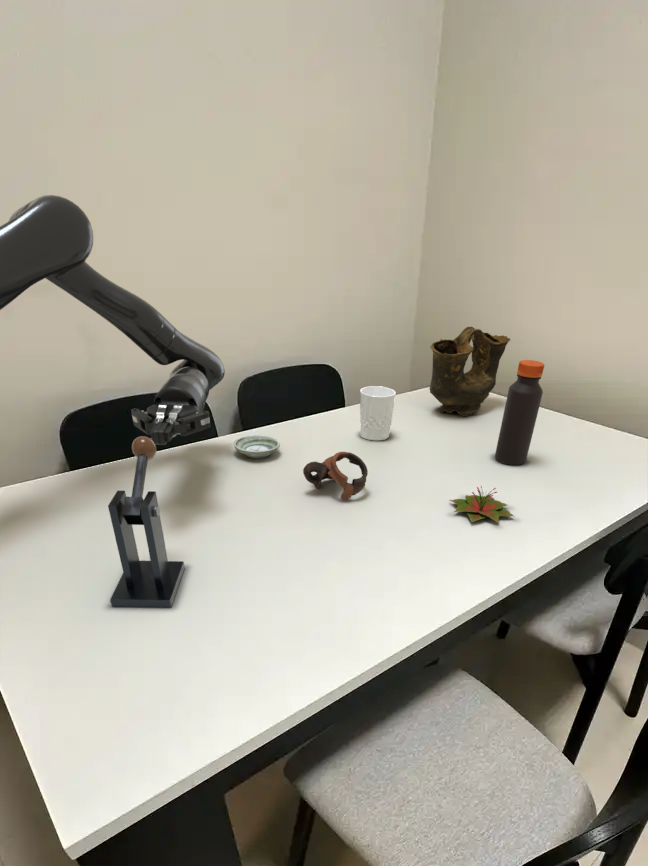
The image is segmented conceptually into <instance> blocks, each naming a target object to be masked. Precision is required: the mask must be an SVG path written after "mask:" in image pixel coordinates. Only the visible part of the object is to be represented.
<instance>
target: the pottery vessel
mask: <svg viewBox="0 0 648 866" xmlns="http://www.w3.org/2000/svg"><path fill="white" fill-rule="evenodd" d="M471 341H472V342H471ZM509 342H511V338H510V337H508V336H507V335H497V334H495V335H492V334H491V333H488V332H483V330H481V329H480V328H475V327H473V326H466V327H465V328H464V329H463V330H462V331H460V334H458V335H457V336H456V337H454V338H453V339H450V338H449V339H442V338H441V339H439V340H437V341H435V342H433V343H432V344H431V345H430V348H429V349H431V351H432V368H431V369H432V371H431V379H430V384H429V393H430V394H431V395H432V396H433V397H434V398H435V399H436V400H437V402H439V403H440V404H442V405H440V408H439V411H440V412H441V413H444V412H445V413H447V414H451V413H452V412H457V415H461V416H463V417H467V416H471V415H476V414H477V413H478V411H479V409H480V408H481V406H482V404H483V403H484V402H485V400H486V399H487V398H489V396H490V393H491V392H492V390H493V389H494V388H495V386H496V384H497V383H496V382H497V374H498V369H499V365H500V361H501V358H502V356H503V355H504V353H505V351H506V347H507V345H508V343H509ZM471 343H472V346H471ZM470 355H471V362H472V364H471V368H470V369H469V370H468V371H466V372H465V371H464V370H465V367H466V364H467V361H468V359H469V356H470Z"/></svg>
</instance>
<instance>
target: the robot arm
mask: <svg viewBox="0 0 648 866" xmlns="http://www.w3.org/2000/svg"><path fill="white" fill-rule="evenodd" d="M93 246H94V230H93V227H92V223H91V221H90V219H89V217H88V216H87V214H86V212H85V211H84V210H83V209H82V208H81V207H80V206H79V205H78V204H76V203H75V202H73V201H72V200H71V199H68V198H67V197H63V196H60V195H54V194H44V195H41V196H38V197H36V198H34V199H33V200H31V201H30V202H27V203H26V204H24V205H23V206H21V207H19V208H18V209H16V210H15V211H14V212H13V213H12V214H11V216H10V217H9V219H8V221H7V222H5V223H3V224H1V225H0V311H1V310H3V309H4V308H6V307H7V306H8V305H9V304H11V303H12V302H13V301H14V300H16V299H17V298H18V297H19V296H20V295H22V294H23V293H24V292H26V291H27V290H28V289H30V288H31V287H32V286H34V285H35V284H37V283H38V282H40V281H42V280H44V279H45V280H47V281H48V282H50V283H52V284H53V285H55V286H56V287H58V288H60V290H62V291H64V292H66V293H67V294H69V295H70V296H72V297H73V298H74V299H76V300H77V301H78V302H80V303H82V304H83V305H85V306H86V307H87V308H89V309H90V310H92V311H93V312H94V313H96V314H97V315H99V316H100V317H101V318H103V319H104V320H106V321H107V322H108V323H110V324H111V325H112V326H113V327H114V328H115V329H117V330H118V331H119V332H121V333H122V334H124V335H125V336H126V337H127V338H128V339H129V340H131V341H132V343H134V344H135V345H136V346H137V347H138V348H140V350H141V351H143V352H144V353H145V354H146V355H147V356H149V358H151V359H152V360H153V361H154V362H156V364H158V365H161V366H169V365H171V364H174V363H175V362H177V361H181V360H182V361H181V362H179V363H178V364H177V365H176V366H175V367H174V368H173V369H172V370H171V371H170V372H169V376H168V377H169V378H168V379H167V380H166V381H165V383H164V384H163V385H162V387H160V389H159V390H158V392H157V393H156V395H155V397H154V400H153V403H152V405H150V406H148V407H147V408H146V411H145V410H143V409H142V410H141V409H139V408H137V407H136V408H132V409H130V411H131V417H132V423H133V426H134V427H135V428H137V429H138V430H140V431H141V432H142V433H144V434H146V436H151V437H150V438H151V439H152V440H153V441H154V443H155V445H156V446H157V445H159V446H166V445H167V443H170V442H172V439H174V438H176V437H177V436H178V435H180V437H187V436H190V435H194V434H196V433H199V432H202V431H204V430H205V431H206V430H208V429H210V428H211V418H210V411H208V410H205V406H206V402H207V399H208V398H209V395H210V391H211V390H212V389H213V388H214V387H215V386H217V385H218V384H219V383H220V382H221V381H222V380H223V379H224V377H225V374H226V373H225V370H226V369H225V365H224V363H223V361H222V359H221V358H220V357H219V356H218V354H216V352H214V351H213V350H211V348H209V347H207V346H205V345H203V344H201V343H200V342H198V341H196V340H194V339H192V338H190V337H189V336H188V335H186V334H184V333H183V332H182V331H180V330H179V329H178V328H176V327H175V326H174V325H173V324H172V323H171V322H170V321H169V320H168V319H167V318H166V317H165V316H164V315H163V314H162V313H161V312H160V311H159V310H158V309H157V308H156V307H154V306H153V305H151V303H150V302H148V301H146V300H145V299H143V298H142V297H140V296H138V295H136V294H135V293H133V292H131V291H129V290H128V289H125V288H124V287H122V286H120V285H119V284H116V283H115V282H113V281H111V280H110V279H108V278H107V277H105V276H104V275H102V274H101V273H100V272H99V271H97V270H96V269H94V268H93V267H92V266H91V265H90V264H89V263H88V262H87V261H86V260H87V259H88V258H89V257H90V254H91V252H92V250H93Z"/></svg>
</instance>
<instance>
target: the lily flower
mask: <svg viewBox="0 0 648 866" xmlns="http://www.w3.org/2000/svg"><path fill="white" fill-rule="evenodd" d="M480 488H481V490H483V487H482V485H480ZM480 488H479V487H478V486H476V489H477V492H478V494H475V492H474V491H472V492H471V494H470V495H468V494H465V496H464V497H465V499H464V498H457V499H456V498H455V499H449V501H450V502H452V503H453V504H455V505H456V506H457V507H456V508H455V510H454V511H453V513H460V512H463V513H464V512H466V515H467V516H468V518H469V519H470V522H471V523H473V522H476V521H479V520H483V519H486V518H487V517H488V518H490V519H491V520H492V521H495V522H496V523H497V524H499V520H500V517H515V518H516V516H515V515H514V514H513V513H511V512H510V511H509V510H507V509H505V508H504V507H507V506H508V504H506V503H504V502H501V501H499V500H497V499H495V498H494V494H498V491H494V490H496V489H497V487H494V488H493V489H492V491H494V492H492V493H491V491H489V492H488V493H487V491H485V492H484V493H485V494H483V495H482V491H481V490H480Z"/></svg>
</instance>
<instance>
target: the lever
mask: <svg viewBox="0 0 648 866" xmlns="http://www.w3.org/2000/svg"><path fill="white" fill-rule="evenodd" d="M132 441H133V442H132V443H131V451H132V453H133V455H134V456H135V457H136V463H135V464H136V465H135V472H134V478H133V485H132V490H131V496H126V497H125V501H124V508H123V514H122V515H123V517H124V519H125V520H126V522H127V524H128V525H132V526H144V524H143V518H142V513H141V508H140V506H141V504H142V502H143V500H144V498H143V495H144V489H145V481H146V474H147V468H148V461H150V460H152V459H153V458H154V457H155V456H156V454H157V445H156V444H155V442H154V441H153V440H152V438H151V437H149V436H147V435H146V436H145V435H141V436H137V437H136V438H134V439H133V440H132Z"/></svg>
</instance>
